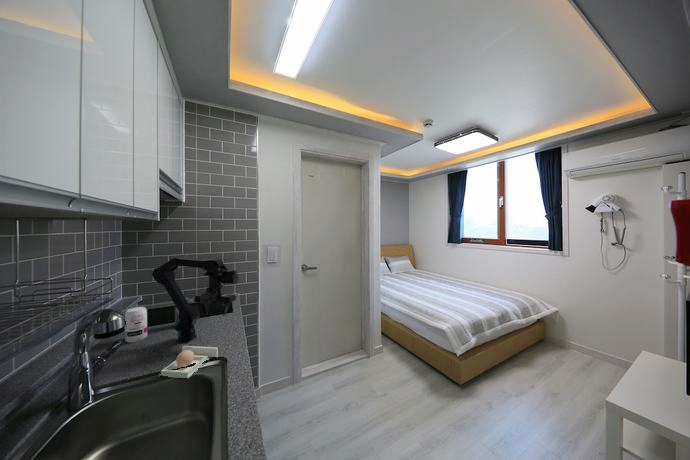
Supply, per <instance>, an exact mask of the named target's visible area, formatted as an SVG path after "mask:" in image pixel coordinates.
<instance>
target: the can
mask: <svg viewBox="0 0 690 460" xmlns="http://www.w3.org/2000/svg"><path fill="white" fill-rule="evenodd" d="M184 297H185V298H186V300H187V302H188V303H189V304H190V302H189V300H190V298H189V297H186V296H184ZM178 316H179V311H178V309H177V307H176V306H175V305H174V322H175V323H174V327H175V326H176V325H177V324H178V323H179V322H180V320H179V318H178Z"/></svg>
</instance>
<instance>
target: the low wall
mask: <svg viewBox="0 0 690 460" xmlns="http://www.w3.org/2000/svg"><path fill="white" fill-rule="evenodd" d="M185 350H190V351H192V352H193V353H194V355H198V356H208V358H213V357H217V358H218V357H219V348H218V347H217V346H216V347H213V346H212V347H211V346H199V345H198V346H197V345H195V346H194V345H182V346H181V352H182V351H185Z"/></svg>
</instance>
